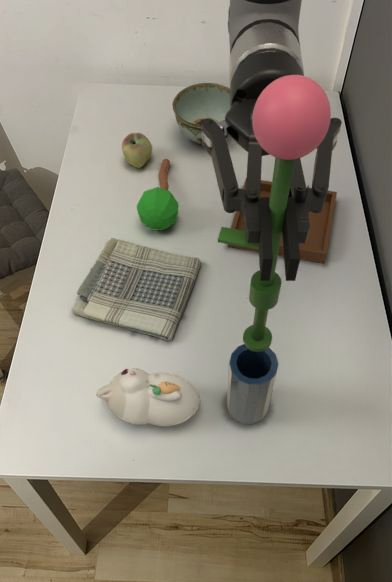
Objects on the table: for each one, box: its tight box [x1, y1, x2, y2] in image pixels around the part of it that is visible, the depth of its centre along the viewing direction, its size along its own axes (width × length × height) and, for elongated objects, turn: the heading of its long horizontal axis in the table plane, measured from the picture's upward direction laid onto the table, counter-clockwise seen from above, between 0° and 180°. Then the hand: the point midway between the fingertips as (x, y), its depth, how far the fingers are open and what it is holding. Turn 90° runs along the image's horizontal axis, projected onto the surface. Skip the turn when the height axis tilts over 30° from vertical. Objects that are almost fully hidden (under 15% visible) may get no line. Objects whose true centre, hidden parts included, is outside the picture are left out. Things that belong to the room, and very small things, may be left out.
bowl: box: [171, 82, 230, 146], centre depth 104 cm, size 14×13×8 cm
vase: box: [226, 343, 279, 425], centre depth 70 cm, size 6×6×14 cm
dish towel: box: [72, 237, 202, 342], centre depth 86 cm, size 19×18×3 cm
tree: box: [136, 157, 180, 231], centre depth 96 cm, size 8×8×20 cm
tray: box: [227, 178, 338, 264], centre depth 93 cm, size 18×16×3 cm
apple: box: [121, 132, 153, 169], centre depth 102 cm, size 6×8×6 cm
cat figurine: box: [96, 368, 201, 427], centre depth 73 cm, size 10×8×15 cm
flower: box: [217, 75, 332, 352], centre depth 46 cm, size 7×5×32 cm
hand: (279, 269), depth 39 cm, fingers closed on flower
